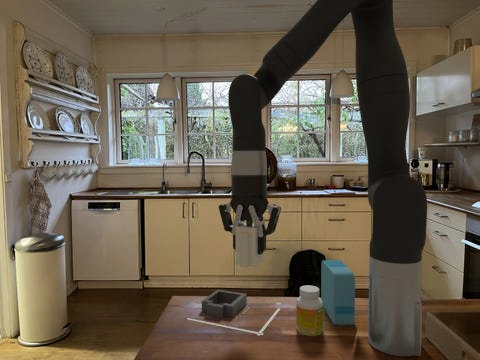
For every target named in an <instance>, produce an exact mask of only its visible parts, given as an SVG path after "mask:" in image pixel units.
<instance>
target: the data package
mask: <svg viewBox="0 0 480 360" xmlns="http://www.w3.org/2000/svg"><path fill="white" fill-rule="evenodd" d="M320 268H321V271H320V273H321V275H320V276H321V283H320V285H321V286H320V287H321V288H320V293H321V295H320V299H321V300H322V302H323V309H324V310H325V312H326V314H327V315H328V317H329V319H330V321H331V323H332V324H333V325H338V326H339V325H341V326H343V325H347V326H348V325H352V326H353V325H355V324H356V323H355V320H356V319H355V318H356V317H355V316H356V315H355V314H356V310H355V309H356V307H355V306H356V299H355V298H356V277H355V274H354V272H353V271H352V270H351V269H350V268H349V267H348V266H347V265H346V264H345V263H344V262H343V261H342V260H337V259H334V260H333V259H331V260H330V259H329V260H327V259H326V260H325V259H324V260H322V261H321V267H320Z"/></svg>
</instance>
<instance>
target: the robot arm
mask: <svg viewBox="0 0 480 360" xmlns="http://www.w3.org/2000/svg"><path fill="white" fill-rule="evenodd" d="M349 14H351V20H352V21H351V22H352V25H353V31H354V39H355V56H354V57H355V81H356V83H355V84H356V91H357V93H356V94H357V101H358V102H357V103H358V108H359V114H360V121H361V128H362V131H363V137H364V142H365V146H366V147H365V148H366V152H367V153H366V155H367V201H368V203H369V207H370V209H371V210H372V227H371V228H372V229H371V230H372V231H371V238H370V241H369V244H368V245H369V253H368V255H369V258H368V261H369V262H368V264H369V265H368V268H369V269H368V329H367V330H368V331H367V332H368V337H367V339H368V343H369V344H370V346H371V347H373V349H375V350H378V351H379V352H382V353H384V354H387V355H390V356H396V357H413V356H415V357H421V356H422V328H423V327H422V325H423V324H422V323H423V320H422V319H423V314H422V313H423V304H422V270H423V269H422V266H423V264H422V261H423V260H422V259H423V250H424V248H425V246H426V242H427V240H426V239H427V223H428V198H427V193H426V190H425V188H424V186H423V185H422V183H421V182H420V181H418V180H417V179H415V178H414V177H412V176H411V174H410V172H411V171H410V169H409V164H408V163H409V161H408V157H407V135H408V128H409V121H410V112H411V91H410V85H409V84H410V82H409V76H408V75H409V73H408V67H407V64H406V63H407V62H406V59H405V55H404V53H403V50H402V48H401V45H400V43H399V41H398V37H397V33H396V31H395V23H394V0H316V1H315V2H314V4H313V5H311V7H310V8H309V9H308V10H307V11H306V12H305V14H304V15H303V16H302V17H301V18H300V19H299V20H298V21H297V22H296V23H295V24H294V25H293V26H292V27H291V28H290V29H289V30H288V31H287V32H286V33H285V34H284V35H283V36H282V37H281V38H280V39H279V40H278V41H277V42H276V43H275V44H274V45H273V46H272V47H271V48H270V49H269V50H268V51H267V52H266V54H264V56H263V57H262V63H261V66H260V67H259V68H258V69H257V71H256V72H255V73H254V74H253V75H252V74H249V73H242V74H239V75H236V77H235V78H234V79H233V80H232V81H231V82H230V85H229V87H228V92H227V93H228V99H227V101H228V102H227V103H228V108H229V109H228V110H229V116H230V123H231V125H232V126H231V127H232V154H231V155H232V156H231V163H230V164H231V165H230V166H231V167H230V174H231V176H230V178H231V199H230V201H229V202H227V203H226V202H225V203H221V204H219V205H218V210H219V211H218V212H219V213H220V218H221V222H222V226H223V229H224V231H225V232H229V233H231V234H232V249H233V250H234V252H235V253H236V226H240V225H241V224H244V223H246V220H249V221H253V224H254V226H255V227H257V234H258V236H259V237H258V254H259V255H261V254H263V255H264V252H265V251H266V250H267V236H268V235H269V236H270V235H272V234H274V233H275V232H276V228H277V225H278V222H279V218H280V216H281V211H282V207H281V206H280V205H278V206H276V205H273V204H270V203H269V201H268V197H267V196H268V162H267V161H268V160H267V154H266V153H267V152H266V151H267V149H266V148H267V145H266V144H267V141H266V139H267V137H266V135H267V134H266V128H265V126H264V123H263V112H262V111H263V109H265V108H266V107H267V106H268V105H269V104H270V103H271V101H273V99H274V98H275V97H276V96H277V95H278V93H279V92H280V91H281V89H282V88H283V86H284V85H285V84H286V83H287V82H288V80H290V79H291V78H292V77H294V75H296V74H297V73H298V72H299V71H300V70H301V69H302V68H303V67H304V66H305V65H306V64H307V63H308V62H309V61H311V59H312V58H313V57H314V56H315V54H316V53H317V52H318V51H319V50H320V48H322V47H323V45H324V44H325V42H326V41H327V39H328V38H329V36H330V35H331V34H332V33H333V32H334V31H335V29H337V27H338V26H339V25H340V24H341V23H342V21H343V20H344V19H345V18H346V17H347V16H348V15H349ZM267 210H268V215H269V219H268V222H267V226H266V222H265V218H264V214H265V213H266V212H267ZM232 211H233V212H234V214H235V215H234V219H233V218H232V215H231V212H232Z"/></svg>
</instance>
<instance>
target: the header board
mask: <svg viewBox="0 0 480 360" xmlns="http://www.w3.org/2000/svg"><path fill="white" fill-rule="evenodd" d="M280 310H281V308H279V307H278V308H277V309H276V311H274V312H273V314H272V315H271V316H270V318H269V319H268V320H267V322H265V324H264V325H263V326H262V328H261V329H260V330H259V331H253V330H249V329H243V328H238V327H233V326H229V325H224V324H219V323H214V322H210V321H209V322H208V321H205V320H200V319H194V318H189V317H187V318H186V320H188V321H193V322H197V323H202V324H207V325H212V326H217V327H221V328H227V329H232V330H236V331H240V332H246V333H251V334H255V335H256V336H259V337H260V336H263V335H264V333H263V332H264V331H265V330H266V328H267V327H268V326H269V325H270V323H271V322H272V320H274V319H275V317H276V315H277V314H278V313H279V311H280Z"/></svg>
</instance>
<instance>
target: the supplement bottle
mask: <svg viewBox="0 0 480 360" xmlns="http://www.w3.org/2000/svg"><path fill="white" fill-rule="evenodd" d="M295 305H296V306H295V307H296V310H295V312H296V313H295V315H296V321H295V322H296V324H295V326H296V331H297V332H298V333H299V334H301V335H303V336H306V337H317V336H320V335H322V333H323V332H324V307H323V302H322V300H321V297H320V288H319V287H317V286H314V285H302V286H300V287H299V297H297V299H296V303H295Z"/></svg>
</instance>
